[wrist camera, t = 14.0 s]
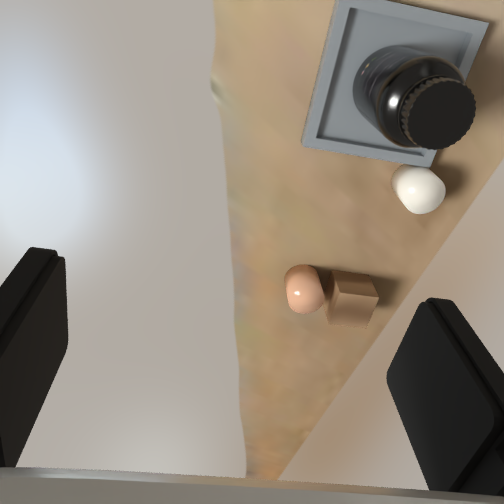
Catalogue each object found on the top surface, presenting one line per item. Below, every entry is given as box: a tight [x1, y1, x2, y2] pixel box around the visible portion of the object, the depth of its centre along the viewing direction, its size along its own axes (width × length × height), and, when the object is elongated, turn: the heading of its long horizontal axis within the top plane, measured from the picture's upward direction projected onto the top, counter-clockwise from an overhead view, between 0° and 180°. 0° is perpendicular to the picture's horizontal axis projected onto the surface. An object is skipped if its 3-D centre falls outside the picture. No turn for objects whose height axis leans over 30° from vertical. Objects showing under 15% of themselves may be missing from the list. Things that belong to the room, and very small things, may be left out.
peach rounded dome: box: [285, 265, 325, 314], centre depth 50 cm, size 4×4×4 cm
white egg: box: [391, 164, 446, 214], centre depth 44 cm, size 4×4×4 cm
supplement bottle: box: [352, 45, 476, 150], centre depth 35 cm, size 7×7×12 cm
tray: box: [301, 0, 489, 168], centre depth 40 cm, size 13×13×2 cm
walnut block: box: [323, 270, 379, 329], centre depth 51 cm, size 4×4×4 cm
